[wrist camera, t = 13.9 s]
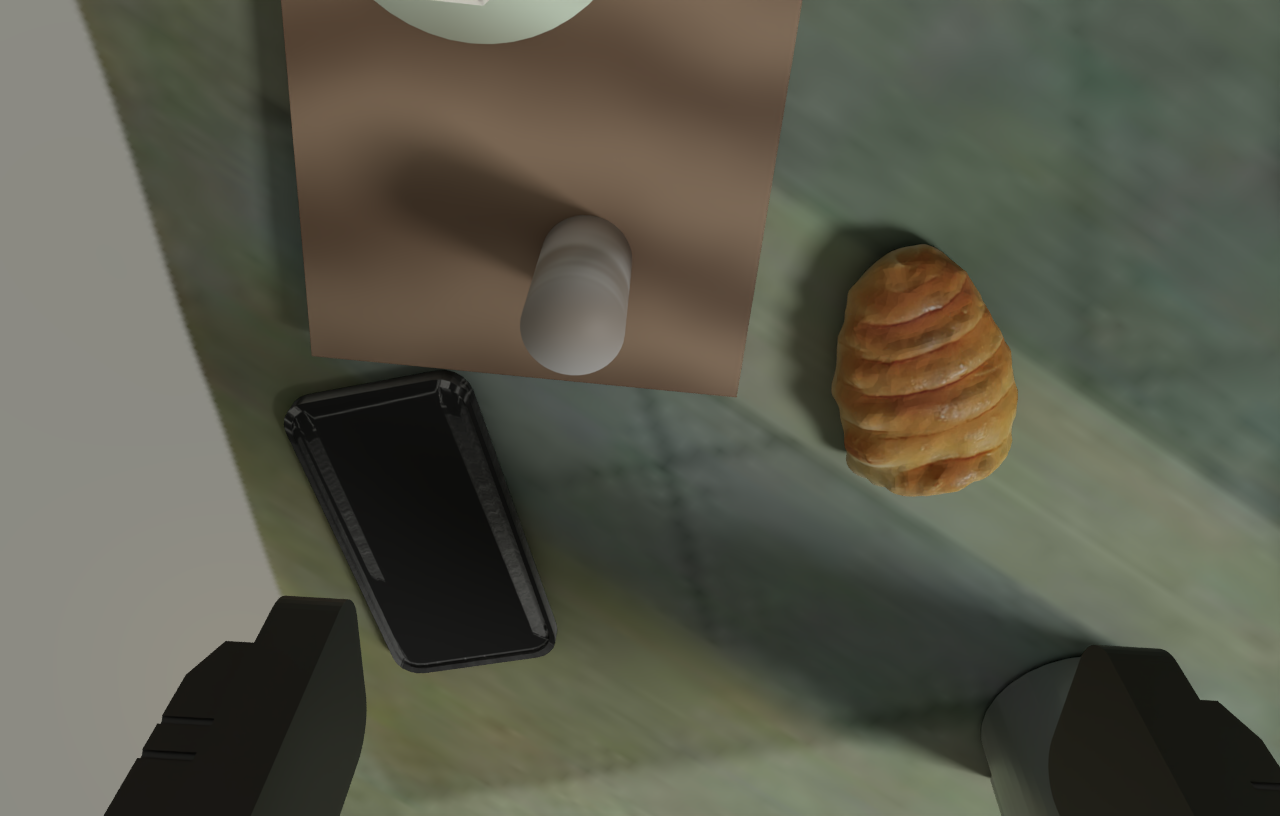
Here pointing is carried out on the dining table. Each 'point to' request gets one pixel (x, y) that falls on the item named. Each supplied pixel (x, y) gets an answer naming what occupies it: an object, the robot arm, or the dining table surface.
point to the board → (538, 182)
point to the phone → (424, 520)
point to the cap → (467, 1)
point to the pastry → (922, 377)
